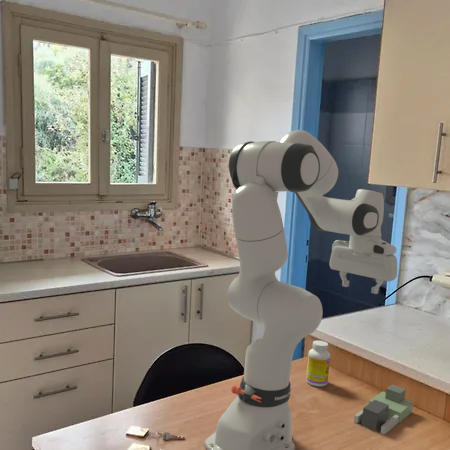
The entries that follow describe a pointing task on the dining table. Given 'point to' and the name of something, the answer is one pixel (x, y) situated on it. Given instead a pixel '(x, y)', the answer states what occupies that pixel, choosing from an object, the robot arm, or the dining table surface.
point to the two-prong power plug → (391, 407)
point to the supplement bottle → (318, 364)
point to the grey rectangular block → (375, 415)
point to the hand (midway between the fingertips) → (359, 289)
